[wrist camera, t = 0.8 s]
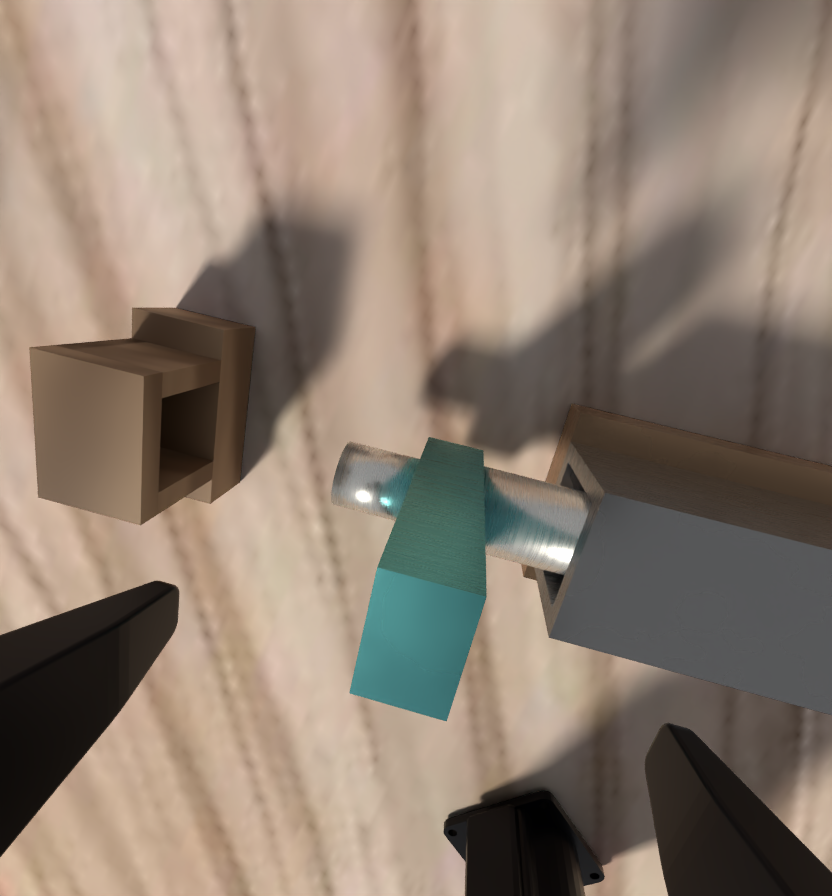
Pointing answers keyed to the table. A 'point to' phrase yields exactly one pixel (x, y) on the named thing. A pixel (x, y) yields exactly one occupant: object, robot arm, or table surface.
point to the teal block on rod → (443, 559)
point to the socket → (143, 414)
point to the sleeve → (696, 557)
